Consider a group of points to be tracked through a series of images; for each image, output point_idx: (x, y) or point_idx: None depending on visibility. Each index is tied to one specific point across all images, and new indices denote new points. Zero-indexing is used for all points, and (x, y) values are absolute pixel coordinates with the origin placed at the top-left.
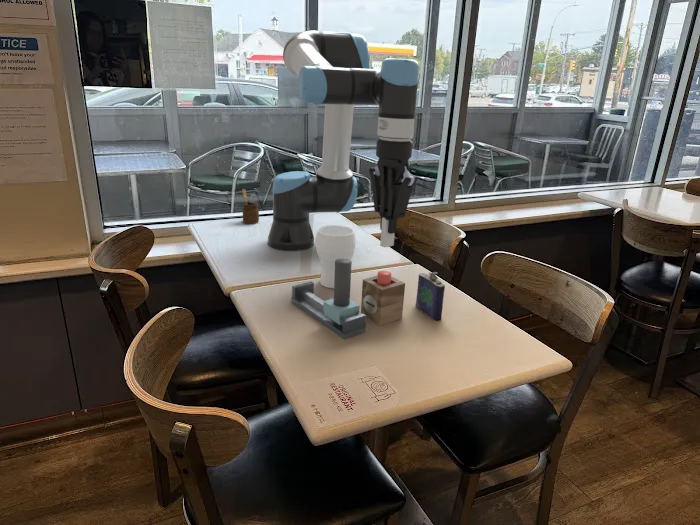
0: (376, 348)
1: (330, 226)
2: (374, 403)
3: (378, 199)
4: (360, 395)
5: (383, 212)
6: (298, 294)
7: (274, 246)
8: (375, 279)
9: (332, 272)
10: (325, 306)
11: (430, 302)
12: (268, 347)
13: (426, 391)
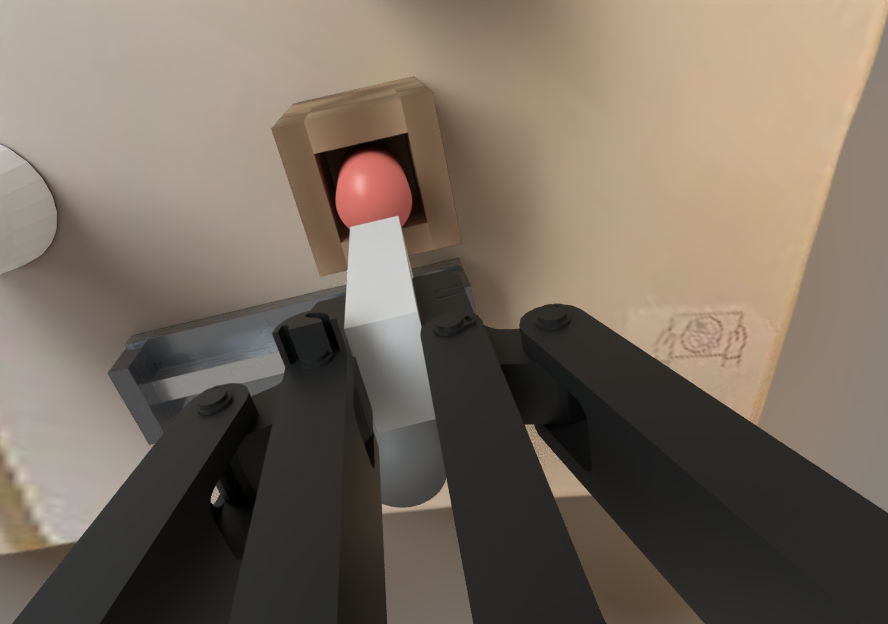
0: (559, 270)
1: None
2: (741, 368)
3: (235, 583)
4: (703, 383)
5: (377, 460)
6: (171, 407)
7: None
8: (332, 215)
9: (4, 261)
10: None
11: None
12: (435, 504)
13: (785, 243)
